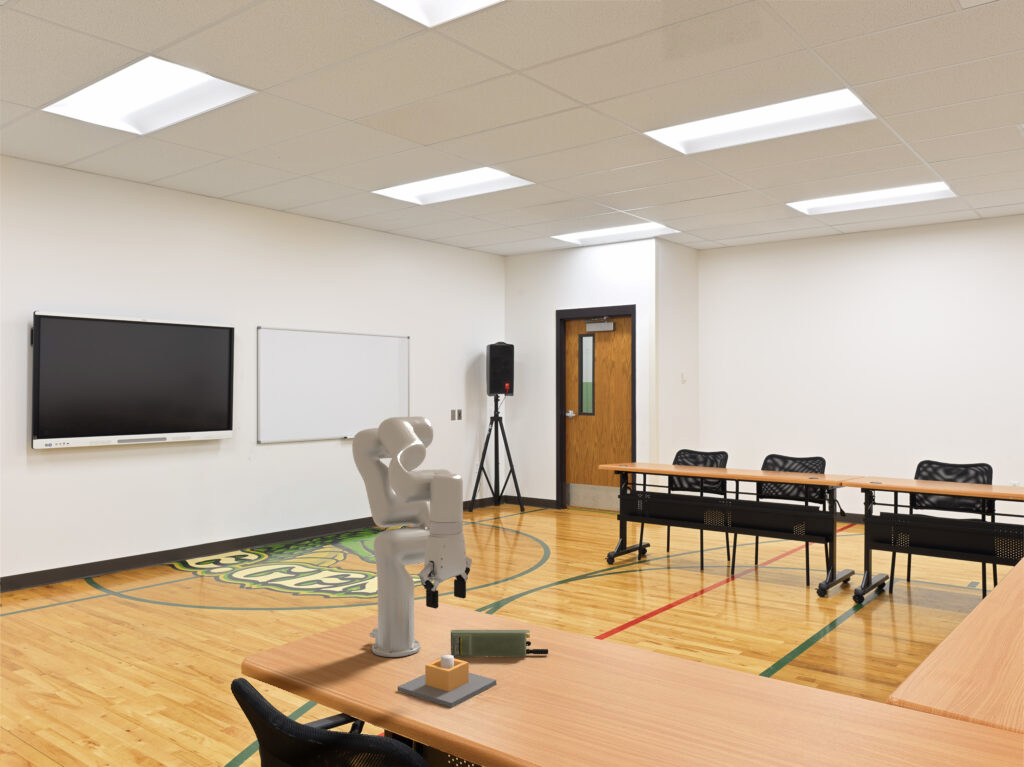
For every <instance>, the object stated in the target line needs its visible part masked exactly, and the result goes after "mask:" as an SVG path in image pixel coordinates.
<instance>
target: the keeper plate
mask: <svg viewBox="0 0 1024 767" xmlns="http://www.w3.org/2000/svg"><path fill="white" fill-rule="evenodd" d="M440 658H441V667H442V668H446V669H450V668H452V667H454V659H455V657H454V656H453V655H451V654H443V655H441V656H440ZM496 685H497V679H493V678H491V677H486V676H483V675H481V674H480V675H479V674H475V673H472V672H469V682H467V683H465V684H463V685H461V686H459V687H457V688H455V689H453V690H451V691H449V692H448V691H445V690H442V689H438V688H435V687H432V686H428V685H425V674H422V675H421V676H418V677H416V678H414V679H412V680H410V681H407V682H405V683H402V684H400V685H398V686H397V692H400V693H402V694H406V695H409V696H412V695H413V697H415V696H416V698H419V699H422V698H423V699H422V700H425V699H426V701H428V700H429V701H428V702H432V703H436V704H439V705H441V706H445V707H448V708H451V709H452V708H453V707H456V706H458V705H459V704H461V703H463V702H465V701H468V700H470V699H471V698H473V697H475V696H477V695H478V694H479V695H480V694H481V693H482V692H484V691H487V690H488V689H490V688H492V687H494V686H496Z"/></svg>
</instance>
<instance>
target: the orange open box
mask: <svg viewBox="0 0 1024 767" xmlns="http://www.w3.org/2000/svg"><path fill="white" fill-rule="evenodd" d="M469 663H470V662H468V661H466V660H461V659H458V658H454V667H452V668H450V669H446V668H442V667H441V657H440V658H438V659H436V660H434V661H431V662H429V663H427V664H425V666H424V667H425V668H424V669H425V671H424V673H425V674H424V675H425V685H428V686H432V687H435V688H438V689H442V690H445V691H448V692H449V691H451V690H453V689H455V688H457V687H459V686H461V685H463V684H465V683H467V682H469V673H470V672H469V670H470V669H469V668H470V667H469V665H470V664H469Z"/></svg>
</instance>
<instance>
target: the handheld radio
mask: <svg viewBox="0 0 1024 767" xmlns="http://www.w3.org/2000/svg"><path fill="white" fill-rule="evenodd" d="M530 633H531V630H530V629H450V655H453V656H461V658H462V657H463V656H465V657H467V658H469V657H473V658H478V657H481V658H485V657H486V656H496V657H495V658H499V657H498V656H503V657H502V658H525V657H527V655H531V654H532V655H549V649H548V648H532V649H531V648H527V647H530V646H531V644H532V642H531V641H530V640H527V639H530V638H531V634H530ZM483 656H484V657H483ZM486 658H487V657H486Z"/></svg>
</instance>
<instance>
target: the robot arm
mask: <svg viewBox="0 0 1024 767" xmlns="http://www.w3.org/2000/svg"><path fill="white" fill-rule="evenodd" d="M433 428H434V427H433V425H432V423H431V422H430V420H428V418H426V417H423V416H393V417H388V418H386V419H384V420H383V421H382V422H381V423H380V424H379V425H378V427H374V428H373V427H372V428H367V429H363V430H360V431H358V432H357V433H356V434H355V435H354V436H353V439H352V444H351V445H352V446H351V448H352V457H353V461H354V464H355V467H356V468H357V471H358V472H359V474H360V476H361V479H362V480H363V482H364V486H365V490H366V495H367V501H368V504H369V509H370V512H371V517H372V520H373V522H374V524H375V525H376V526H378V527H380V528H391V529H386V530H383V531H381V532H379V533H378V534H377V535H376V536H375V537H374V540H373V552H374V553H373V554H374V560H375V565H376V566H375V567H376V575H377V576H376V578H377V579H376V580H377V627H374V628H373V629H372V631H370V632H369V633H368V634H369V637H370V638H372V639H375V640H374V641H375V642H374V643H373V644H372V646H371V651H372V653H373V654H375V655H377V656H380V657H385V658H400V657H406V656H411V655H413V654H415V653H417V652H419V651H420V649H421V643H420V641H419V640H417V639H415V583H414V578H413V576H412V575H411V573H410V572H409V571H408V570H407V569H406V566H408V565H411V564H412V565H413V564H419V563H424V564H423V565H424V566H423V568H422V570H421V571H420V572H419V573H418V578H419V579H420V580H419V581H420V584H421V585H422V587H423V589H424V590H425V605H426V607H427V608H431V609H435V610H436V609H438V608H439V590H437V589H438V587H439V584H440V583H441V582H442V581H445V580H448V579H452V578H455V579H453V596H454V597H456V598H459V599H466V598H467V581H468V580H469V577H468V576H469V574H470V571H471V567H472V562H473V559H472V558H470V557H468V556H467V553H466V552H467V550H466V541H465V540H466V539H465V535H464V534H465V533H464V532H463V530H464V529H463V528H464V525H463V524H464V521H463V519H464V511H463V510H464V509H463V508H464V494H463V493H464V490H463V489H464V485H463V484H464V482H463V477H462V476H461V474H457V473H452V472H451V471H450V470H448V469H444V468H443V469H441V468H440V469H425V470H424V469H423V470H422V469H421V470H416V469H417V468H419V467H420V466H421V465H422V463H423V462H424V461H425V459H426V457H427V456H426V455H427V448H428V447H429V446H430V445H431V444H432V442H433V440H434V429H433ZM380 459H391V460H390V462H389V465H388V466H387V465H386V464H385V463H383V462H382V461H381V460H380ZM407 526H409V527H407ZM397 527H398V528H397ZM399 527H400V528H399ZM432 582H433V583H432Z"/></svg>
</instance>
